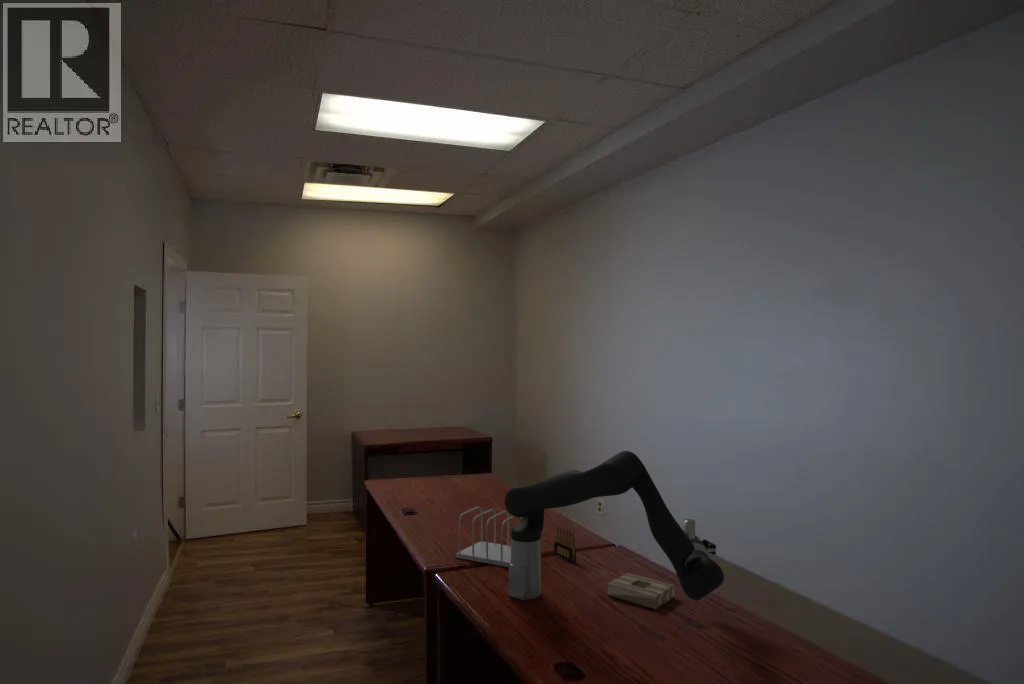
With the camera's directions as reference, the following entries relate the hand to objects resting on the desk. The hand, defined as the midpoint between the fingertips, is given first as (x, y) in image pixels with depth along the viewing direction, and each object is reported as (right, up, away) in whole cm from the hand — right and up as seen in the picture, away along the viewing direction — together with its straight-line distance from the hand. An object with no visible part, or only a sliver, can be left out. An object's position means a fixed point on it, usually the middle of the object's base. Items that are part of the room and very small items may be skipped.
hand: (688, 538), depth 191 cm
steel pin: (-1, -9, -3) cm, 9 cm away
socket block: (-13, -20, +6) cm, 24 cm away
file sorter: (-57, -20, +42) cm, 74 cm away
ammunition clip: (-33, -20, +41) cm, 56 cm away
